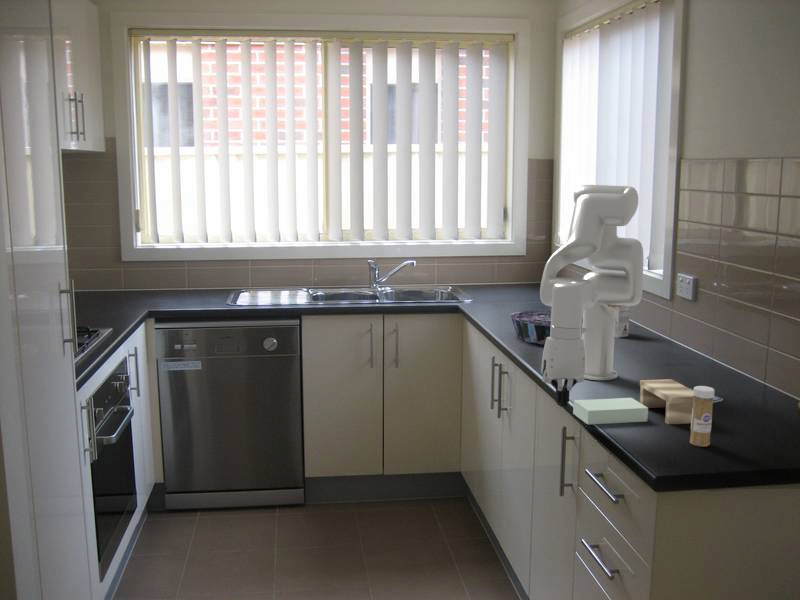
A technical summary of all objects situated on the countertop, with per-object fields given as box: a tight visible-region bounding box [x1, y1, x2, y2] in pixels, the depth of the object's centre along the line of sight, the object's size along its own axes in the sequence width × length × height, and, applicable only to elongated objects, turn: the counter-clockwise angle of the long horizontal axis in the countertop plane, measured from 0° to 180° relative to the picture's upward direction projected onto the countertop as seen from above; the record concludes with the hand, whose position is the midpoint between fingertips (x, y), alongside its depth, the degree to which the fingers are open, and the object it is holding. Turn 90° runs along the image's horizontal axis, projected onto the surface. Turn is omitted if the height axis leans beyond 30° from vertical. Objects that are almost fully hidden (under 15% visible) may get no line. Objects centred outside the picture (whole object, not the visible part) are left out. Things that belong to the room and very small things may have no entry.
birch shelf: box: [639, 378, 694, 425], centre depth 218 cm, size 16×9×7 cm, turn 12°
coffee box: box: [608, 304, 631, 339], centre depth 312 cm, size 9×6×16 cm
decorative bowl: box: [509, 310, 583, 346], centre depth 304 cm, size 26×28×10 cm
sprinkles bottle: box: [689, 385, 715, 447], centre depth 195 cm, size 5×5×13 cm
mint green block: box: [572, 397, 649, 425], centre depth 215 cm, size 9×16×4 cm, turn 102°
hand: (561, 405), depth 211 cm, fingers closed
